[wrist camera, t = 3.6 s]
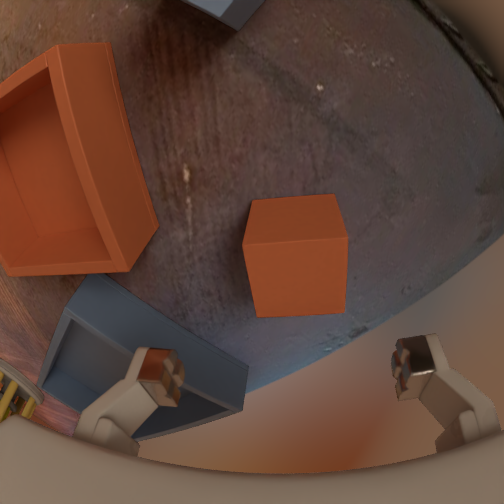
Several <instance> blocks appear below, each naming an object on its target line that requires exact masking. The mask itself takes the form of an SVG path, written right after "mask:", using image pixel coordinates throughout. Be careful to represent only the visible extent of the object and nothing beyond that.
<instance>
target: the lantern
mask: <svg viewBox="0 0 504 504" xmlns="http://www.w3.org/2000/svg"><path fill="white" fill-rule="evenodd" d="M0 382H1V383H2V384H3V387H2V389H1V391H0V423H1V422H2V421H4V420H5V419H6V417H7V416H8V413H9V411H10V410H11V411H12V413H11V415H10V416H12V415H14V414H18V415H19V412H20V410H21V408H22V406H23V404H24V402H25V401H27V404H26V406H25V408H24V410H23V412H22V415H21V416H24V417H26V418H28V419H30V418H31V416H32V414H33V412H34V410H35V407H36V405H39V404H42V402H43V400H44V395H43V394H42V393H41V391H40V390H39V389H38V388H37V387H36V386H35V385H34V384H33V383H32V382H31V381H30V380H29V379H27V378H26V377H25V376H24V375H23V374H21V373H20V372H19V371H18V370H16V369H15V368H14V367H12V366H11V365H10V364H8V363H7V362H5V361H4V360H2V359H0ZM17 396H18V397H19V398H18V400H17V402H16V404H14V401H15V399H16V397H17Z"/></svg>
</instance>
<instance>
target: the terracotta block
mask: <svg viewBox="0 0 504 504" xmlns="http://www.w3.org/2000/svg"><path fill="white" fill-rule="evenodd" d="M242 248H243V253H244V258H245V263H246V268H247V273H248V278H249V282H250V287H251V292H252V297H253V302H254V306H255V311H256V316H257V318H263V317H286V316H305V315H321V314H336V313H344V312H345V300H346V283H347V263H348V236H347V232H346V229H345V226H344V222H343V219H342V216H341V213H340V210H339V207H338V203H337V200H336V197H335V194H320V195H306V196H293V197H281V198H269V199H258V200H252V204H251V209H250V213H249V217H248V221H247V226H246V230H245V234H244V239H243V243H242Z"/></svg>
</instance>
